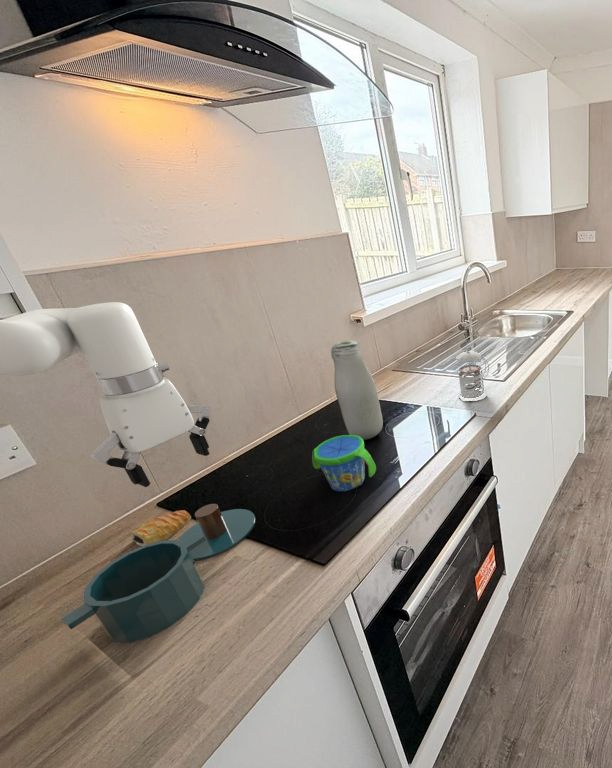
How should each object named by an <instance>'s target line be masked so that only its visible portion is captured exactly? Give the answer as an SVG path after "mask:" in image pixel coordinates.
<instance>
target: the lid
mask: <svg viewBox="0 0 612 768" xmlns="http://www.w3.org/2000/svg"><path fill="white" fill-rule="evenodd" d="M194 517H195V519H196V521H197V523H195V524H194V525H192V526H191V527H190V528H188V529H187V530H186V531H185V532H184V533H183V534H182V535H181V536H180V537H179V538H178V539H177V540H178V541H180V542H183V541H184V540H186V539H187V538H189V537H190V536H192V535H194V534H195V533H198V534H200V535H202V536H204V538H205V540H206V541H205V542H203V543H202V544H200V545H198V546H197V547H195V548H194V549H192V550H191V551H189V552H190V554H191V556H192V558H193V560H194V561H201V560H205V559H209V558H213V557H215V556H218V555H220V554H222V553H224V552H226V551H228V550H230V549H232V548H234V547H235V546H237V545H238V544H239V543H241V542H242V541H243V540H244V539H246V537H248V536H249V534H250V533H251V532H252V531H253V529H254V527H255V526H256V521H257V519H256V516H255V514H254V512H252V511H251V510H249V509H245V508H244V509H243V508H233V509H229V510H224V511H221V510H220V507H219V505H218V504H217V503H210V504H206V505H203V506H201V507H200V508H198V509H197V510H196V511H195V513H194Z"/></svg>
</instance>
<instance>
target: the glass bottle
mask: <svg viewBox="0 0 612 768" xmlns="http://www.w3.org/2000/svg"><path fill="white" fill-rule="evenodd" d="M362 351H363V350H362V349H361V347H360V344H359V342H357V341H355V340H342V341H339V342H336V343H335V344H333V345H332V347H331V350H330V353H331V354H330V356H331V358H332V360H333V366H334V392H335V395H336V398H337V402H338V406H339V408H340V412H341V416H342V419H343V422H344V425H345V428H346V430H347V433H348V435H356V436H359V437H361V438H362V439H363V441H366V440H370V439H373V438H374V437H376V436H377V435H379V434H380V433H381V431H382V430H383V427H384V426H383V425H384V420H383V414H382V410H381V404H380V400H379V395H378V391H377V390H378V389H377V386H376V383H375V380H374V377H373V375H372V373H371V372H370V370H369V369H368V367H367V365H366V362H365V361H364V358H363V355H362V354H363V353H362Z"/></svg>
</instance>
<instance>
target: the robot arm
mask: <svg viewBox="0 0 612 768" xmlns="http://www.w3.org/2000/svg"><path fill="white" fill-rule="evenodd" d="M78 353H82V354H83V356H84V358H85V360H86V362H87V363H88V365H89V368H90V369H91V371H92V373H93V375H94V377H95V379H96V380H97V383H98V385H99V386H100V388H101V390H102V392H103V395H101V396H100V397H99V398H98V400H99V405H100V409H101V412H102V416H103V419H104V421H105V424H106V427H107V429H108V432H109V435H108V436H107V437H106V438H105V439H104V440H103V441H102V442H101V443H100V444H99V445H98V446H97V447H96V448H95V449H94V450H93V451H92V452H91V453H90V458H93V459H95V460H96V461H99V462H101V463H103V464H105V465H107V466H110V467H114V468H121V469H124V470H125V472H126V474H127V476H128V478H129V480H130V481H131V482H132V484H133V485H139V486H141V487H144V488H147V487H150V485H151V482H150V480H149V479H148V476H147V474H146V472H145V470H144V469H143V467H142V466H141V464H137V463H138V461H139V458H140V456H141V454H142V453H144V452H147V451H148V450H151V449H154V448H155V447H158V446H161V445H162V444H164V443H166V442H169V441H171V440H173V439H176V438H178V437H179V436H181V435H184V434H186V433H188V432H189V433H190V434H189V440H190V443H191V445H192V447H193V449H194V451H195V453H196V454H198V455H201V456H204V457H207V456H209V455H210V451H209V448H210V445H209V443H208V441H207V438H206V436H205V435H206V433H207V431H206V429H207V427H208V425H209V423H210V417H211V416H210V415H211V406H208V405H202V404H201V405H200V404H197V405H196V404H186V402H185V400H184V398H183V397H182V396H181V394H180V393H179V391H178V390H177V388H176V387H175V386H174V384H173V383H172V382H171V381H170V379H169V378H167V377H165V375H164V373H165V372H167V371H170V366H169V365H168V363H166V362H163V363H159V362H156V359H155V356H154V354H153V352H152V350H151V348H150V345H149V343H148V340H147V339H146V337H145V334H144V331H142V328H141V325H140V323H139V321H138V319H137V317H136V315H135V313H134V310H133V309H132V307H130V305H128V304H126V303H124V302H120V301H112V302H111V301H109V302H99V303H93V304H88V305H84V306H80V307H66V308H65V307H64V308H60V307H59V308H39V309H32V310H28V311H25V312H23V313H20V314H16V315H12V316H10V317H7V318H4V319H0V376H8V377H9V376H11V377H12V376H14V377H17V376H18V377H22V376H31V375H35V374H39V373H41V372H43V371H46V370H48V369H50V368H51V367H53V366H55V365H56V364H58V363H60V362H61V361H63V360H66V359H67V358H70V357H72V356H74V355H76V354H78ZM192 413H193V414H194V413H198V417H197V419H196V421H195V420H194V418H193V415H192ZM115 447H117V449H119V450H121V451H122V452H121V454H120V457H119V458H118V457H114V456H112V455H110V452H111V451H112V450H113V449H114V448H115Z"/></svg>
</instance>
